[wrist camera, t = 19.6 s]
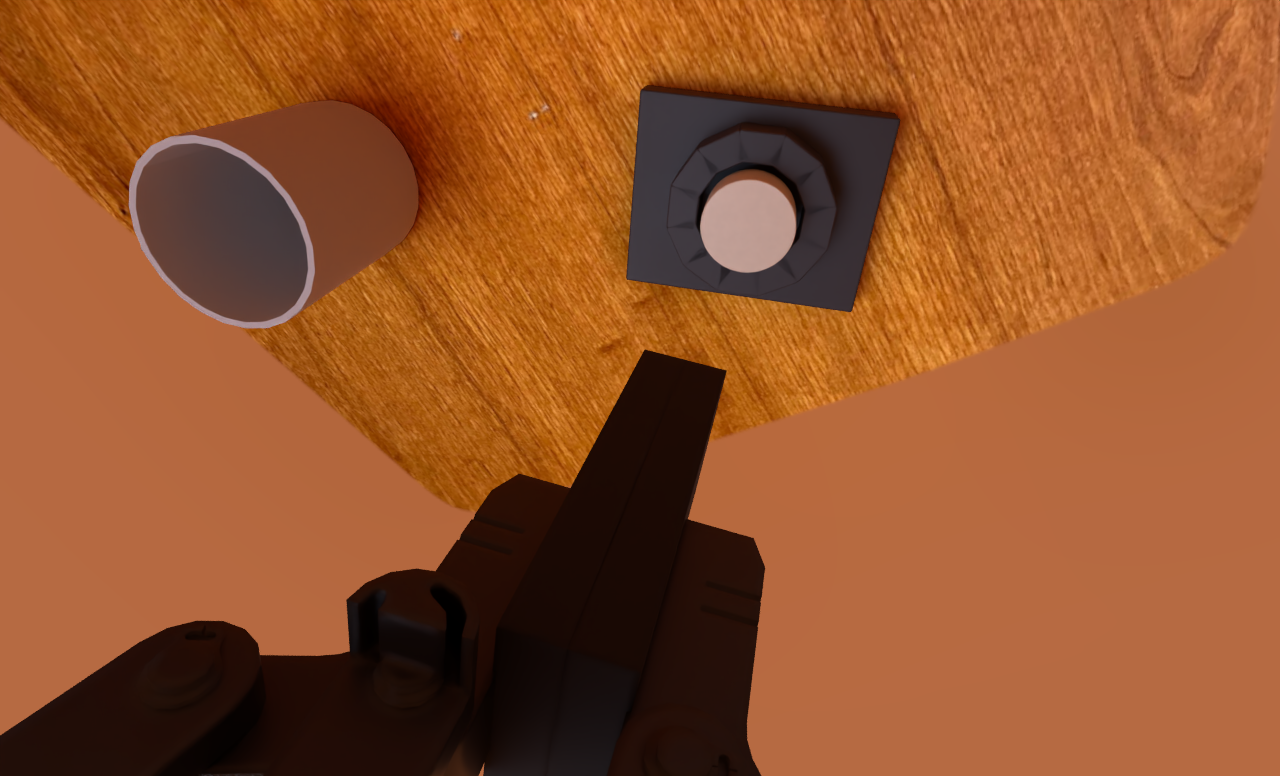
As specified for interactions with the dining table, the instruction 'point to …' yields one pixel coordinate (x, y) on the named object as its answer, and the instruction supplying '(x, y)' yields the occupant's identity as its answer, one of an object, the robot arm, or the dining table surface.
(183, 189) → the cup
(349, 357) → the dining table surface
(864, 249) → the box
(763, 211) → the button
